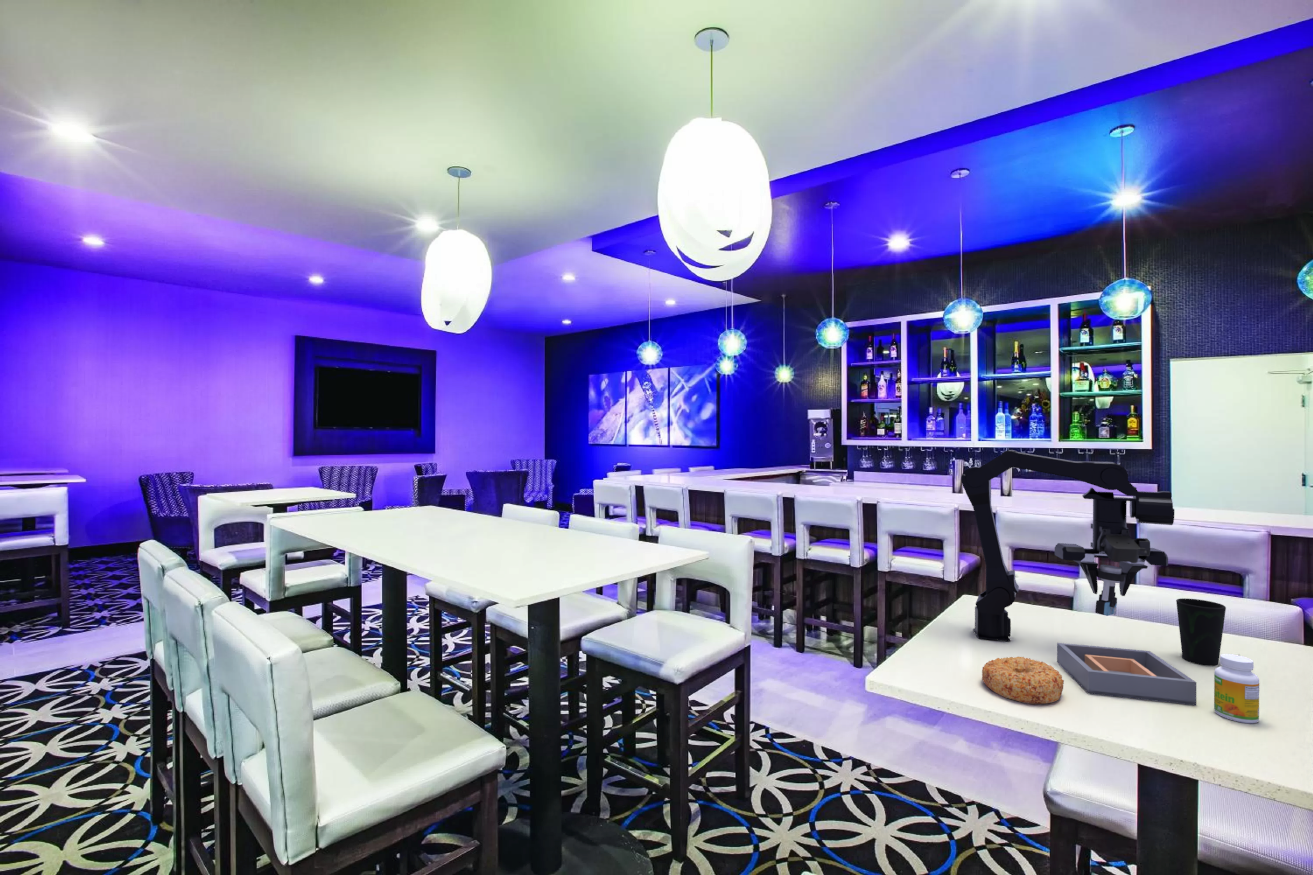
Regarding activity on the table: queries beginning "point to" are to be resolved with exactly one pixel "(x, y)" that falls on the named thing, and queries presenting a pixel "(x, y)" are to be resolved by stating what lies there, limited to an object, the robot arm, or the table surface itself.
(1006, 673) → the bagel
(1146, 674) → the walled box
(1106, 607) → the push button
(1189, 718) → the table surface
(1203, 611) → the cup
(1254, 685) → the supplement bottle
